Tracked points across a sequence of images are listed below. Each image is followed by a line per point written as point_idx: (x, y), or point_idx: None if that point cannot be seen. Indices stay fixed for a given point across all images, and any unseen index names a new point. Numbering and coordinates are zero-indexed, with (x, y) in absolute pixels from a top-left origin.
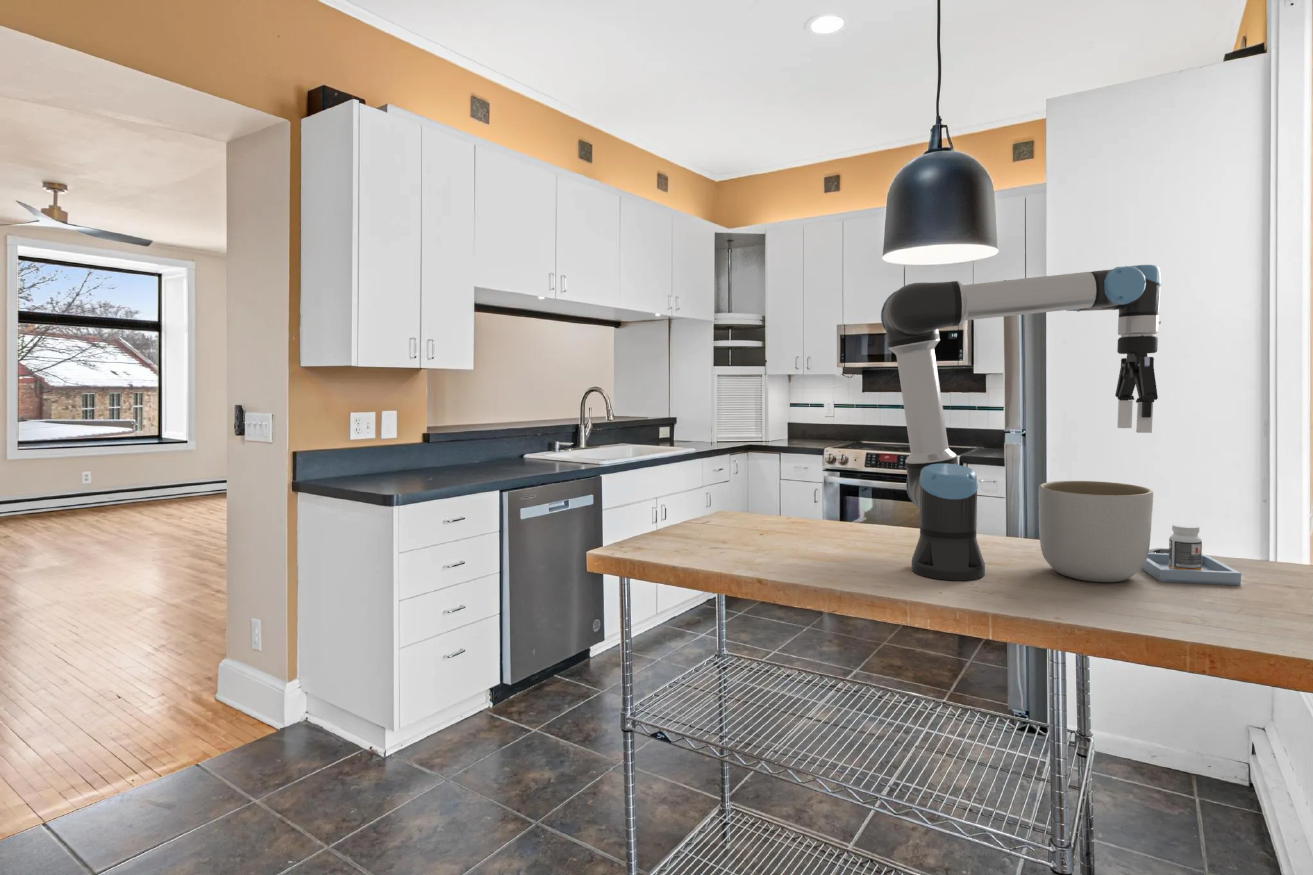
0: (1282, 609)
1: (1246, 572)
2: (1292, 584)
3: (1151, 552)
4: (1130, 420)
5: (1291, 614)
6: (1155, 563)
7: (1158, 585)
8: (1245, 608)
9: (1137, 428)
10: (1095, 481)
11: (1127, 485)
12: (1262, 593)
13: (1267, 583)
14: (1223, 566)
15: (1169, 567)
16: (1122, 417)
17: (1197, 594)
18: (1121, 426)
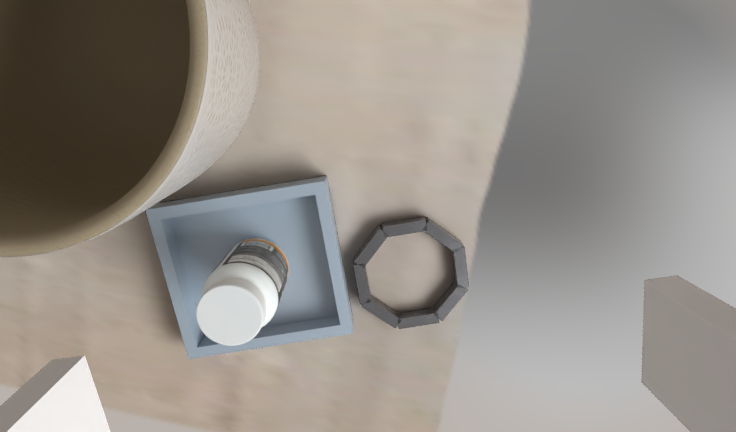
0: (40, 368)
1: (322, 377)
2: (249, 427)
3: (408, 226)
4: (696, 425)
5: (12, 373)
6: (210, 209)
7: None
8: (12, 314)
9: (30, 383)
10: (197, 53)
11: (138, 184)
12: (149, 365)
13: (238, 391)
14: None
15: (250, 239)
16: (727, 374)
17: (79, 255)
18: (656, 312)
